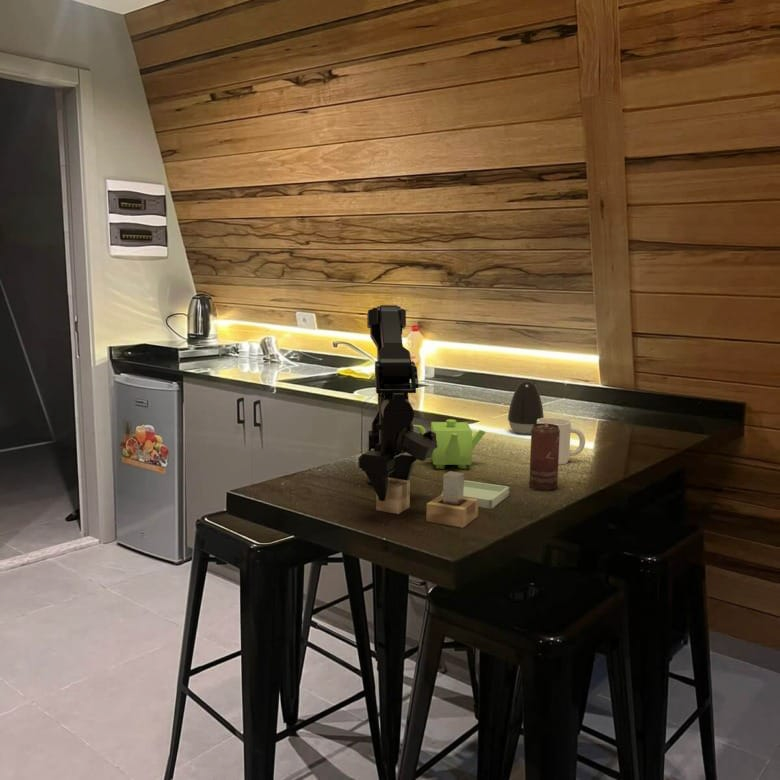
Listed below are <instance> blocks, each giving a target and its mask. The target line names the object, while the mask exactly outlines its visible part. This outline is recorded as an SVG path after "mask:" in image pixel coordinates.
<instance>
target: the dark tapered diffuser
mask: <svg viewBox="0 0 780 780" xmlns="http://www.w3.org/2000/svg"><path fill="white" fill-rule="evenodd" d="M536 384H537V383H536V381H529V380H525V381H522V382H520V383H519V384H518V386H517V387H516V388H515V390H514V392H513V395H512V399H511V401H510V404H509V409H508V415H507V420H508V424H509V426H510V429H512V431H513V432H515V433H517V434H520V435H531V429H532V428H533V425H534V424H537V420H538V419H540V418H545V417H544V408H543V407H544V406H543V402H542V399H541V394H540V392H539V390H538V387H537V385H536Z"/></svg>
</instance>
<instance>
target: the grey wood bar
mask: <svg viewBox="0 0 780 780" xmlns="http://www.w3.org/2000/svg"><path fill="white" fill-rule="evenodd" d="M464 480H465V473H464V472H460V471H459V472H458V471H452V470H451V471H450V470H449V471H448V472H446V473H443V480H442V481H443V483H442V484H443V485H442V492H443V504H447V505H453V506H461V505H462V504H463V494H464Z"/></svg>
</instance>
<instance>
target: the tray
mask: <svg viewBox="0 0 780 780" xmlns="http://www.w3.org/2000/svg"><path fill="white" fill-rule="evenodd" d="M510 491H511V487H510V486H506V485H498V484H492V483H486V482H480V481H473V480H466V479H464V494H463V497H467V498H474V499H478V508H482V509H488V510H492V509H493V508H495V507H496V506H497V505H498V504H500V503H501V502H502V501H504V500H505V499H506V498H507V497H509V496H510V494H511V493H510ZM441 494H443V491H442V492H441Z"/></svg>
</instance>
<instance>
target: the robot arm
mask: <svg viewBox="0 0 780 780" xmlns="http://www.w3.org/2000/svg"><path fill="white" fill-rule="evenodd" d="M366 317H367V318H366V327H367V329H369V332H370V333H369V334H370V335H369V336H370V339H371V340H372V342H373V343H374V345H375V347H376V348H377V349H376V354H377V355H376V357H377V359H376V361H374V382H375V384H374V385H375V393H376V394H377V413H376V415H375V416H374V417H373V420H372V422H371V424H370V430H367V431H368V433H367V444H366V445H367V451H366V452H364V453H362V454H360V456H358V457H357V459H358V460H357V462H358V463H357V467H358V468H359V469H361V471H362V472H364V473H365V475H366V476H367V478H368V480H366V483H367V484H370V485H371V486H372V488H373V490H374V492H375V495H376V494H377V496H378V498H379V500H380V501H385V498H386V492H387V484H388V478H394V479H401V480H407V481H410V477H411V474H412V470H413V468H414V465H415V463H416V462H417V461H421V462H425V461H426V460H428V459H432V457H431V456H432V453H433V451H434V449H436V448H437V441H436V433H434V432H432V431H431V430H428V431H427V430H426V433H424V434H423V435H422V433H420V432H416V431H414V426H413V425H414V424H413V420H414V417H415V412H414V411H415V410H414V408H413V406H412V404H411V402H410V400H409V394H417V389H418V388H419V375H418V367H417V366H416V363H415V362H414V361H412V357H411V352H410V351H409V349H407V348H405V346H403V345H404V344H403V336H402V334H403V329H405V328H406V327H407V310H406V309H404V308H401V306H398V305H396V304H394V305H393V304H391V305H390V304H388V305H387V304H380V305H378V306H376V307H373V308H370V309H367V313H366Z"/></svg>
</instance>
